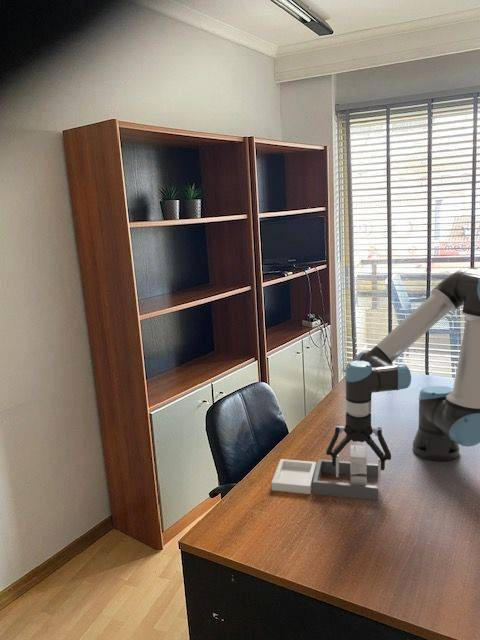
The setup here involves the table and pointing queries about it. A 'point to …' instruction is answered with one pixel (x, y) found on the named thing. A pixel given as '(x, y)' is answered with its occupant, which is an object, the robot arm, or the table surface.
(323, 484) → the bay
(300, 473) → the tray
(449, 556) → the table surface
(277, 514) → the table surface
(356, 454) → the ink box
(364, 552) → the table surface
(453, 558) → the table surface
